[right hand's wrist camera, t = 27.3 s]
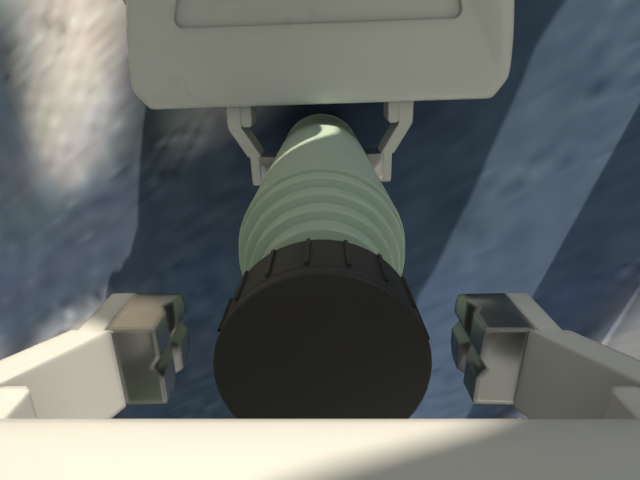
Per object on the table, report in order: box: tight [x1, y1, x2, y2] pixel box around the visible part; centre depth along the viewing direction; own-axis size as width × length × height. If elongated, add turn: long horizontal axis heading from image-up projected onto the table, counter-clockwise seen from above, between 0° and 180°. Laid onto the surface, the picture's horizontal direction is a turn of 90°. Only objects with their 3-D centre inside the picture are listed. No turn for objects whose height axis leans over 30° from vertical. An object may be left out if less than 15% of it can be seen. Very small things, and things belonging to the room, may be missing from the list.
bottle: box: [239, 114, 405, 277], centre depth 20 cm, size 5×5×24 cm
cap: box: [213, 238, 432, 419], centre depth 9 cm, size 4×4×2 cm
